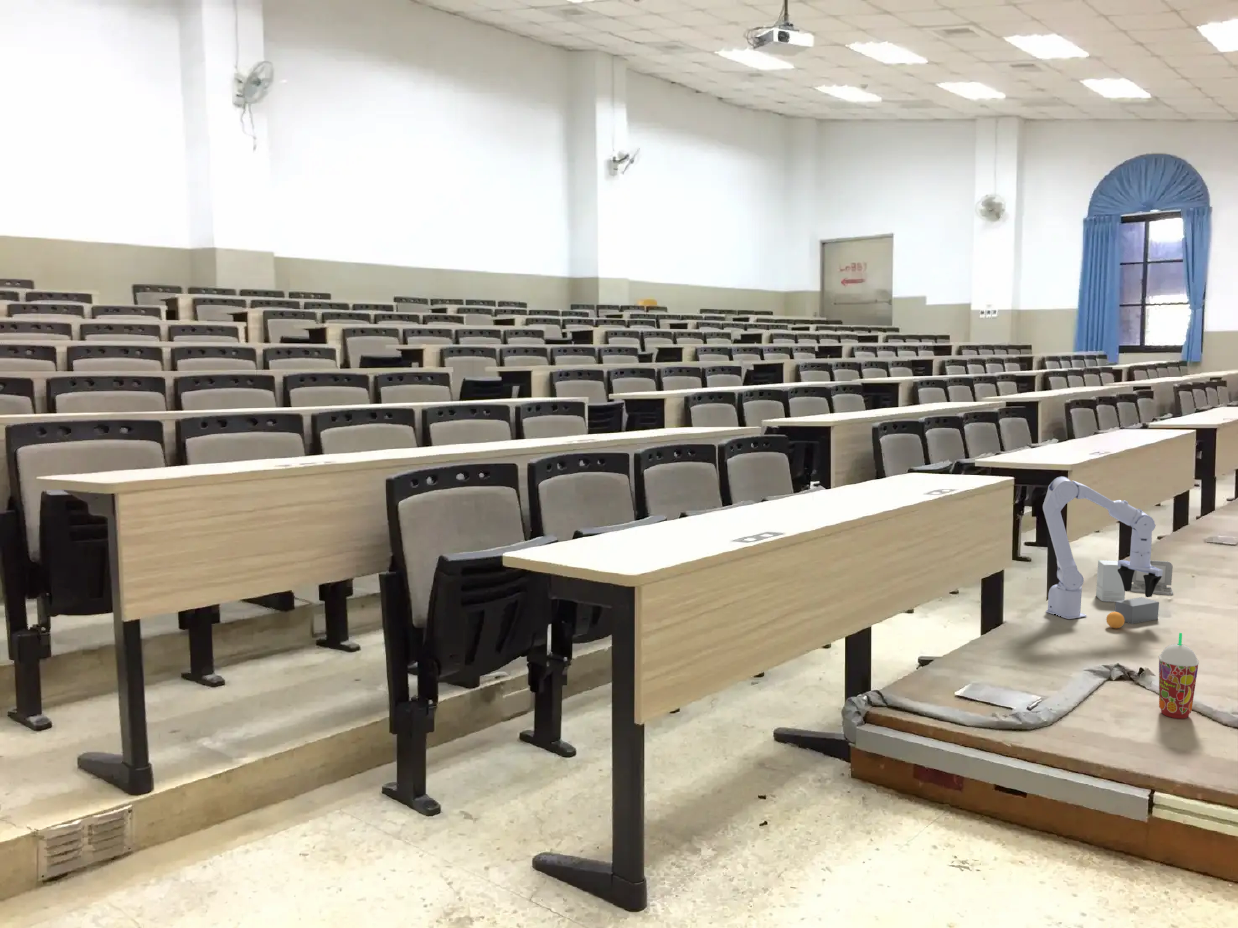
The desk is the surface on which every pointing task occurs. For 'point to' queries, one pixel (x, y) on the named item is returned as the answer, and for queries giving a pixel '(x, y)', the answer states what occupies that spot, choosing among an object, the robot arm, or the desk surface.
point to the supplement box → (1109, 582)
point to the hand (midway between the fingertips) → (1138, 593)
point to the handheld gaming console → (1163, 582)
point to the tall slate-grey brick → (1137, 609)
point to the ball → (1115, 620)
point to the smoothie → (1177, 680)
